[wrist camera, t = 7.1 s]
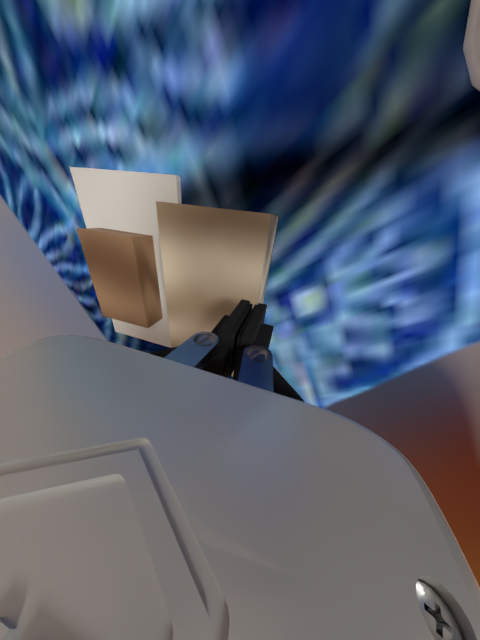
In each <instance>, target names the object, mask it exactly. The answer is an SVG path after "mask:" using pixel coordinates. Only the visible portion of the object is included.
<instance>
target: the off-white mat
mask: <svg viewBox="0 0 480 640" xmlns="http://www.w3.org/2000/svg"><path fill="white" fill-rule="evenodd" d="M70 170H71V174H72V177H73V181H74V185H75V188H76V192H77V195H78V199H79V203H80V206H81V210H82V213H83V217H84V221H85V224H86V228H105V229H112V230H119V231H125V232H132V233H139V234H145V235H152V236H153V243H154V251H155V259H156V267H157V275H158V283H159V291H160V299H161V307H162V315H163V318H162V319H161V320H159V321H158V322H156V323H155V324H153V325H152V326H151V327H149V328H145V327H141V326H138V325H134V324H130V323H127V322H123V321H119V320H115V319H112V321H113V325H114V329H115V332H118V333H122V334H125V335H129V336H132V337H135V338H139V339H142V340H146V341H149V342H153V343H156V344H159V345H163V346H166V347H170V348H171V342H170V332H169V323H168V313H167V304H166V294H165V285H164V275H163V265H162V256H161V246H160V237H159V227H158V218H157V208H156V201H159V202H168V203H177V204H182V200H181V178H180V176H177V175H169V174H156V173H143V172H130V171H117V170H103V169H90V168H77V167H70Z"/></svg>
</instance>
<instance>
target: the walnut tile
mask: <svg viewBox="0 0 480 640" xmlns="http://www.w3.org/2000/svg"><path fill="white" fill-rule="evenodd" d="M77 232H78V236H79V239H80V242H81V245H82V249H83V252H84V255H85V258H86V262H87V265H88V268H89V272H90V275H91V278H92V281H93V285H94V288H95V291H96V294H97V298H98V301H99V304H100V308H101V311H102V314H103V316H104V317H108V318H112V319H115V320H119V321H123V322H127V323H130V324H134V325H138V326H141V327H145V328H149V327H151V326H152V325H153V324H155V323H156V322H158V321H159V320H161V319H162V318H163V315H162V307H161V299H160V291H159V283H158V275H157V267H156V259H155V251H154V243H153V236H152V235H145V234H139V233H132V232H125V231H119V230H112V229H105V228H80V229H77Z"/></svg>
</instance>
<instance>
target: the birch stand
mask: <svg viewBox="0 0 480 640" xmlns="http://www.w3.org/2000/svg"><path fill="white" fill-rule="evenodd" d="M156 208H157V218H158V227H159V237H160V246H161V256H162V265H163V275H164V285H165V294H166V304H167V313H168V323H169V332H170V342H171V348H174V347H178V346H180V345H181V344H182V343H184V342H185V341H186V340H187V339H189V338H190V337H191V336H193V335H194V334H196V333H198V332H204V331H206V332H211V331H212V330H213V329H214V328H215V326H216V325H217V324H218V323H219V321H220V320H221V319H222V318H223V316H224V315H229V316H230V314H231V313H232V312H233V310H234V309H235V308H236V306H237V305H238V304H239V302H240V301H241V300H242V299H243V300H248V301H250V303H251V304H253V306H252V309H253V307H254V305H255V304H256V305H258V303H261V304H263V301H264V295H265V290H266V284H267V279H268V273H269V267H270V262H271V256H272V251H273V245H274V240H275V234H276V228H277V223H278V217H279V216H276V215H273V214H268V213H259V212H250V211H240V210H231V209H222V208H213V207H204V206H195V205H186V204H177V203H168V202H159V201H156ZM233 372H234V371H233ZM231 376H233V373H232V375H231Z"/></svg>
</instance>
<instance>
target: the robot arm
mask: <svg viewBox="0 0 480 640" xmlns="http://www.w3.org/2000/svg"><path fill="white" fill-rule="evenodd" d="M252 306H253V304H251V303H250V301H248V300H243V299H242V300H241V301H240V302H239V304H238V305H237V306H236V308H235V309H234V310H233V312H232V313H231V314H230V316H229V315H224V316H223V318H222V319H221V320H220V321H219V323H218V324H217V325H216V326H215V328H214V329H213V330H212V331H211V332H206V331H204V332H198V333H196V334H194V335H193V336H191V337H190V338H189V339H187V340H186V341H185V342H184V343H182V344H181V345H180V346H178V347H174V348H169V349H165V350H160V351H156V352H151V353H146V352H142V351H139V350H136V349H132V348H129V347H126V346H123V345H119V344H116V343H112V342H108V341H104V340H101V339H96V338H91V337H84V336H70V335H69V336H54V337H47V338H44V339H40V340H38V341H35V342H32V343H30V344H27V345H25V346H23V347H20V348H18V349H15V350H13V351H11V352H9V353H6V354H4V355H2V356H0V640H480V588H479V586H478V583H477V582H476V580H475V578H474V575H473V573H472V571H471V569H470V567H469V565H468V563H467V561H466V559H465V557H464V555H463V553H462V551H461V549H460V546H459V545H458V542H457V540H456V538H455V537H454V535H453V533H452V531H451V529H450V527H449V525H448V523H447V521H446V519H445V517H444V515H443V514H442V512H441V510H440V508H439V506H438V505H437V503H436V501H435V499H434V497H433V496H432V494H431V492H430V490H429V489H428V487H427V486H426V484H425V483H424V481H423V479H422V478H421V477H420V475H419V474H418V472H417V471H416V469H415V468H414V467H413V466H412V465H411V463H410V462H409V461H408V460H407V459H406V458H405V457H404V456H403V455H402V454H401V453H400V452H399V451H398V450H397V449H395V448H394V447H393V446H392V445H390V444H389V443H388V442H386V441H385V440H384V439H382V438H381V437H379V436H378V435H376V434H375V433H373V432H371V431H370V430H368V429H367V428H365V427H363V426H361V425H359V424H358V423H356V422H354V421H351V420H350V419H348V418H345V417H343V416H341V415H338V414H336V413H334V412H331V411H328V410H325V409H322V408H320V407H317V406H314V405H311V404H308V403H305V402H304V401H303V399H302V398H301V397H300V396H299V395H298V394H297V392H296V391H295V390H294V389H293V388H292V387H291V386H290V385H289V384H288V382H287V381H286V380H285V379H284V378H283V377H282V376H281V375H280V373H279V372H278V371H277V370H276V369H275V368H274V367H273V355H272V353H271V351H270V350H269V349H268V348H269V344H270V340H271V336H272V331H273V327H274V326H271V325H267V324H263V323H264V318H265V313H266V308H267V305H266V304H261V303H258V305H256V304H255V305H254V307H253V309H252ZM233 371H234V372H233ZM232 373H233V378H234V379H229V378H227V377H231V375H232Z"/></svg>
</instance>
